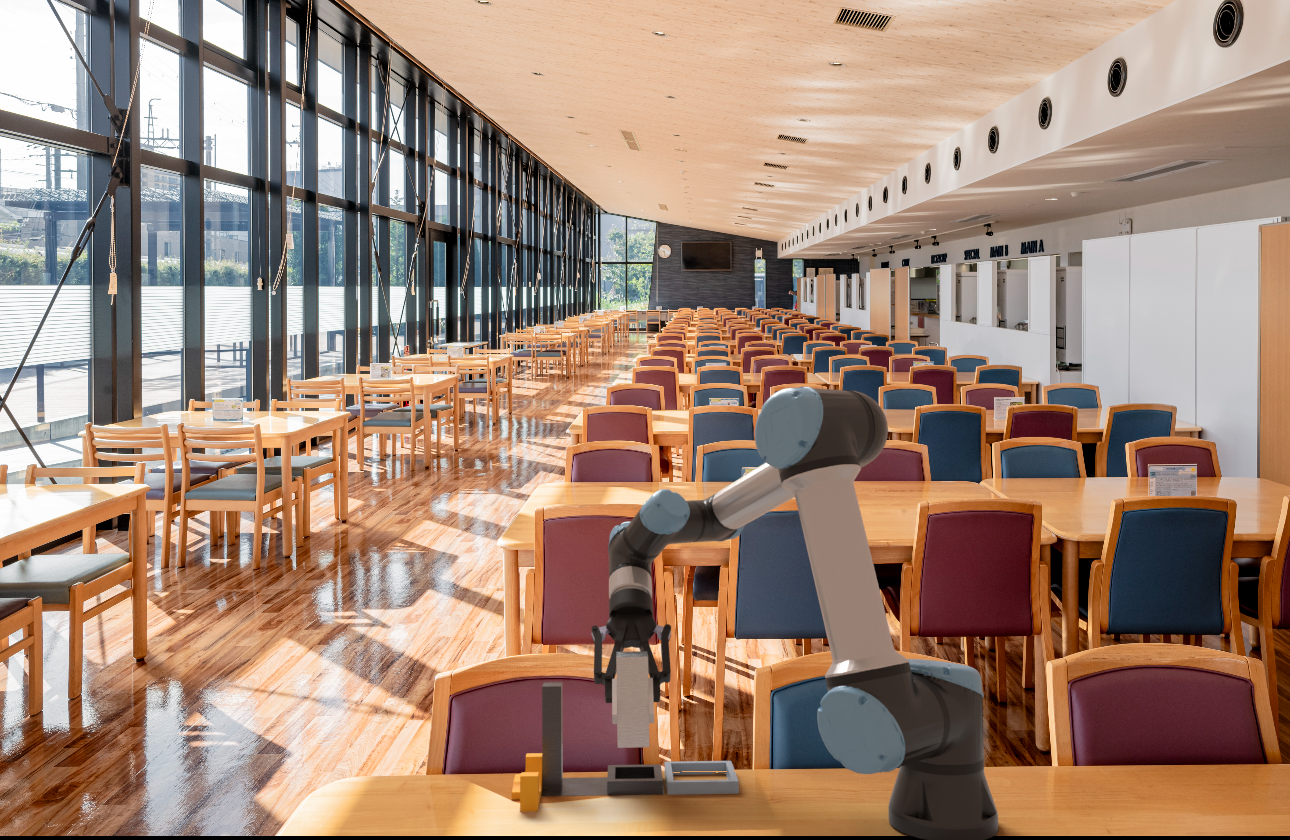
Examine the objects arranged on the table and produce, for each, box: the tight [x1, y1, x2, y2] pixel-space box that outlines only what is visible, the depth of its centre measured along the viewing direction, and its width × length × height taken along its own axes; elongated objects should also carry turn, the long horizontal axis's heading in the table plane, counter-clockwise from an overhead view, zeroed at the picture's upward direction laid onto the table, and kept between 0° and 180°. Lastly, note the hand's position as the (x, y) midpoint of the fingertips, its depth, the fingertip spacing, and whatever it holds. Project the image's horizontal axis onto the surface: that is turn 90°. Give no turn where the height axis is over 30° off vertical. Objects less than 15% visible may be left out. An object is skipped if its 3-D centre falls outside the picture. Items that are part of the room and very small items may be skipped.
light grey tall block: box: [616, 650, 650, 749], centre depth 161 cm, size 5×5×14 cm
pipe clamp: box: [511, 752, 542, 813], centre depth 155 cm, size 12×4×6 cm, turn 2°
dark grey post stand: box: [541, 681, 665, 797], centre depth 160 cm, size 19×9×17 cm, turn 91°
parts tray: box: [664, 760, 740, 796], centre depth 161 cm, size 11×11×3 cm
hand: (633, 718), depth 157 cm, fingers closed on light grey tall block, 5 cm apart
